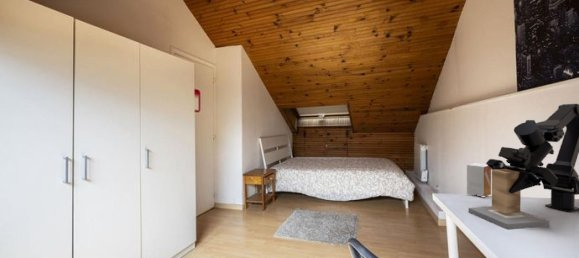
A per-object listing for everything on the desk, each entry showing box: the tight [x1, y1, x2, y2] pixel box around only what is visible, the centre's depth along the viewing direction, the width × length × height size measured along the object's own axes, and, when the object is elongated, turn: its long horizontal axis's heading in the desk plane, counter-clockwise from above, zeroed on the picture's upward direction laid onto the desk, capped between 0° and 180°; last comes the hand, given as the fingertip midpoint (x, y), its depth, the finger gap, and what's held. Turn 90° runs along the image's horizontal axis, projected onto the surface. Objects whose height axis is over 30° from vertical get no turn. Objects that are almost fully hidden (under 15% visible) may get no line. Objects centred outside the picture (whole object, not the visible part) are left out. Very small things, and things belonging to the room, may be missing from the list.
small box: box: [466, 162, 492, 198], centre depth 106 cm, size 8×6×13 cm
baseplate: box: [468, 205, 550, 230], centre depth 81 cm, size 14×14×2 cm
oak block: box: [491, 169, 522, 214], centre depth 81 cm, size 5×5×13 cm
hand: (501, 190), depth 81 cm, fingers closed on oak block, 5 cm apart
